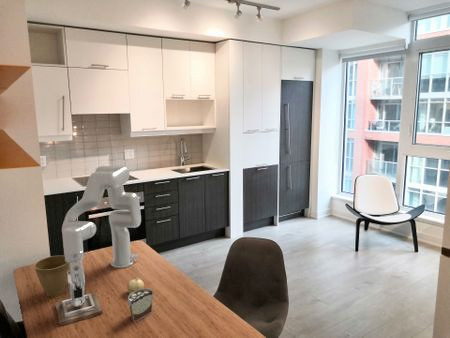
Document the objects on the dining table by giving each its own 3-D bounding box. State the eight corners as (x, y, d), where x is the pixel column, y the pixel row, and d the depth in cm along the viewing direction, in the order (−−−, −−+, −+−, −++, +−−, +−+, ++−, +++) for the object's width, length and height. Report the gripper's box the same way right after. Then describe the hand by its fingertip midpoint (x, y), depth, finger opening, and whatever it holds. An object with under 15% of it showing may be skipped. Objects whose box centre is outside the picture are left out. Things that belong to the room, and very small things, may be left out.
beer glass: (80, 308, 147) (77, 275, 144) (66, 306, 148) (63, 274, 146) (90, 299, 154) (87, 268, 151) (76, 297, 155) (73, 267, 152)
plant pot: (41, 287, 170) (38, 257, 167) (73, 283, 175) (71, 253, 172) (34, 303, 156) (31, 271, 153) (70, 298, 161) (67, 266, 158)
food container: (145, 305, 154) (144, 285, 153) (154, 310, 151) (153, 289, 149) (122, 318, 145) (121, 296, 143) (131, 324, 141) (129, 301, 139)
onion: (141, 296, 162) (140, 283, 161) (124, 296, 162) (124, 282, 161) (146, 288, 170) (145, 274, 168) (130, 287, 170) (129, 274, 169)
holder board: (95, 295, 163) (95, 289, 162) (102, 313, 148) (102, 307, 148) (56, 305, 155) (55, 299, 154) (59, 326, 140) (58, 319, 140)
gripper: (86, 261, 142) (89, 300, 145) (80, 246, 156) (83, 282, 159) (66, 265, 138) (70, 305, 141) (62, 250, 153) (66, 287, 156)
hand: (77, 293), depth 150 cm, fingers closed on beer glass, 6 cm apart
